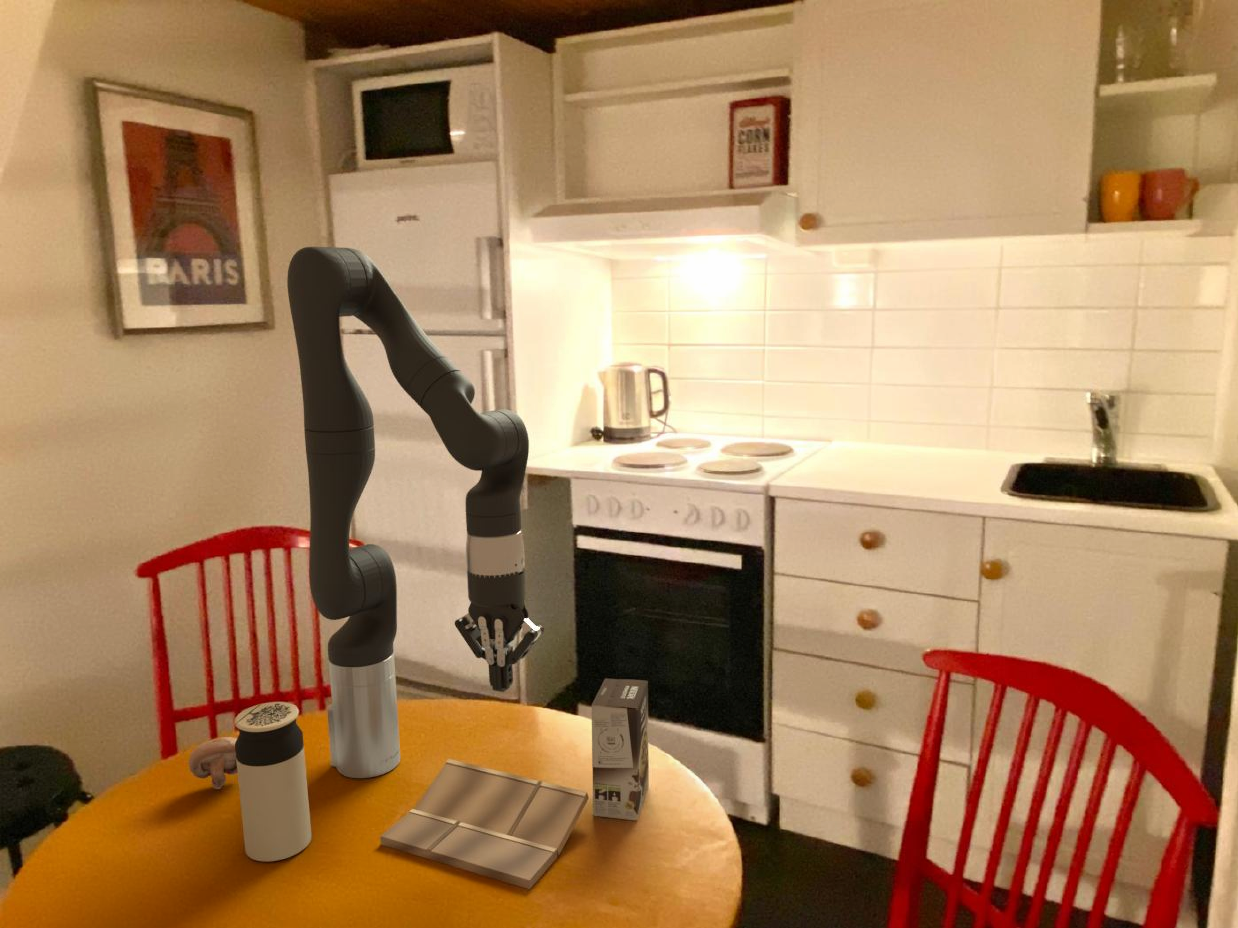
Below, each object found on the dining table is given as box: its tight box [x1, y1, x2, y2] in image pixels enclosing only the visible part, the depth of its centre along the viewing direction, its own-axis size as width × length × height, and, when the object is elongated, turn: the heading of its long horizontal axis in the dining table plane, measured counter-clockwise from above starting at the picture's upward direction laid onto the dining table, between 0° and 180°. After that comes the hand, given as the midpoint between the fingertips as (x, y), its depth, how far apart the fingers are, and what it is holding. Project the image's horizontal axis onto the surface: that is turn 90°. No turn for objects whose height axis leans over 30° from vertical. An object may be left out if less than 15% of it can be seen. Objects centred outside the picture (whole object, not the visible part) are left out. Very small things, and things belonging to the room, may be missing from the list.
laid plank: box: [380, 808, 558, 890], centre depth 116 cm, size 22×7×1 cm, turn 65°
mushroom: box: [188, 736, 238, 790], centre depth 131 cm, size 8×6×8 cm
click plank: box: [413, 758, 590, 856], centre depth 122 cm, size 22×9×1 cm, turn 65°
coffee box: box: [591, 678, 650, 821], centre depth 125 cm, size 9×6×16 cm
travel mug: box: [234, 701, 312, 862], centre depth 116 cm, size 8×8×18 cm
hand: (501, 688), depth 123 cm, fingers closed
